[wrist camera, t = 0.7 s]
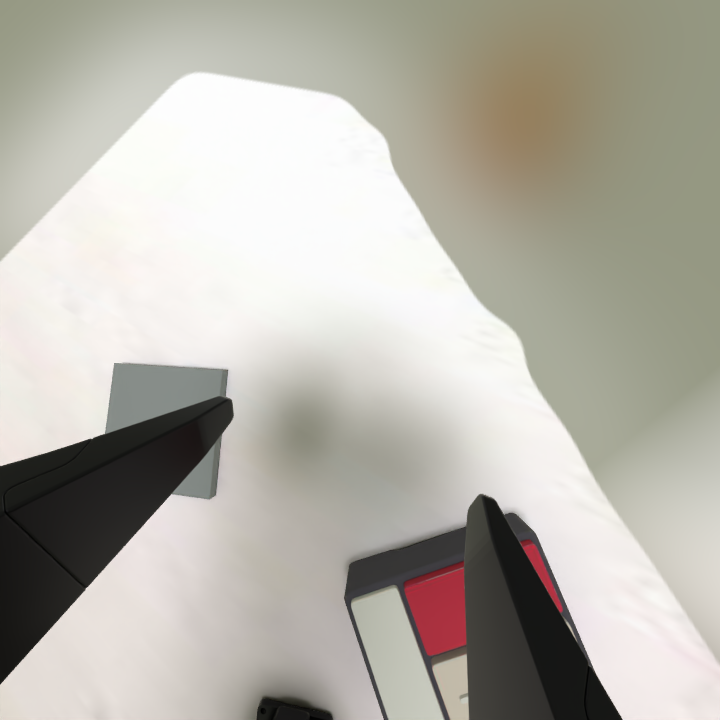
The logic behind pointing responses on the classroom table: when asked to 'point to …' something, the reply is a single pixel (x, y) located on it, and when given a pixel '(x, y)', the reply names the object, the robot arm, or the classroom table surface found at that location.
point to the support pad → (167, 408)
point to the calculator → (425, 622)
